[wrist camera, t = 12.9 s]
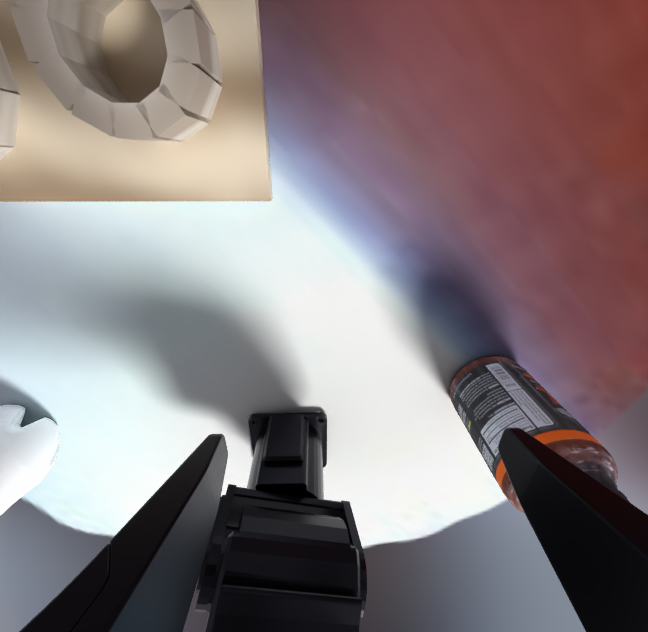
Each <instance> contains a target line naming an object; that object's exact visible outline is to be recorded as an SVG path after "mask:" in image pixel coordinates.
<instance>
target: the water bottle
mask: <svg viewBox="0 0 648 632" xmlns="http://www.w3.org/2000/svg"><path fill="white" fill-rule="evenodd" d="M24 414H25V408H24V407H22V406H20V405H2V406H0V515H2V514H3V513H4V512H5V511H6V510H7V509H8V508H9V507H10V506H11V505H12V504H13V503H15V502H16V501H17V500H18V499H20V498H21V497H22V496H23V495H24V494H26V493H27V492H28V491H29V490H31V489H32V488H33V487H35V486H36V485H38V484H39V483H40V482H41V480H42V479H43V478H44V477H45V475H46V474H47V473H48V471H49V470H50V469H51V467H52V466H53V464H54V462H55V459H56V456H57V452H58V448H59V444H58V441H59V435H60V433H59V428H58V426H57V425H56V424H55V423H54V422H53V421H52V420H51V419H48V418H46V417H45V418H42V419H40V420H38V421H35V422H33V423H31V424H28V425H26V426H24V427H21V426H20V425H21V422H22V420H23V417H24Z"/></svg>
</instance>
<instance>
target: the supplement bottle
mask: <svg viewBox="0 0 648 632" xmlns="http://www.w3.org/2000/svg"><path fill="white" fill-rule="evenodd" d="M450 398H451V401H452V403H453V405H454V407H455V409H456V411H457V413H458V415H459V416H460V418H461V420H462V422H463V423H464V425H465V427H466V428H467V430H468V432H469V434H470V435H471V437H472V439H473V441H474V443H475V444H476V446H477V448H478V450H479V451H480V453H481V455H482V456H483V458H484V460H485V462H486V464H487V465H488V467H489V469H490V471H491V472H492V474H493V476H494V478H495V479H496V481H497V482H498V484H499V486H500V488H501V489H502V491H503V493H504V494H505V496H506V497H507V498H508V500H509V501H510V502H511V503H512V505H513V506H515V507H516V508H517V509H518V510H520V511H522V512H524V510H523V508H522V506H521V504H520V502H519V500H518V498H517V496H516V493H515V491H514V488H513V486H512V483H511V481H510V478H509V476H508V474H507V471H506V469H505V466H504V464H503V461H502V459H501V456H500V454H499V450H498V444H499V441H500V439H501V436H502V434H503V431H504V429H506V428H513V427H517V428H521V429H522V430H524V431H525V432H527V433H528V434H530V435H531V436H533V437H534V438H536V439H537V440H539V441H540V442H541V443H543V444H544V445H546V446H547V447H549V448H550V449H552V450H553V451H555V452H556V453H558V454H559V455H560V456H562V457H563V458H565V459H566V460H568V461H569V462H571V463H572V464H574V465H575V466H577V467H578V468H580V469H581V470H582V471H584V472H585V473H587V474H588V475H590V476H591V477H593V478H594V479H596V480H597V481H599V482H600V483H601V484H603V485H604V486H606V487H607V488H609V489H610V490H612V491H613V492H615V493H616V494H618V495H619V496H621V497H622V498H623V499H625V500H626V501H628V500H627V497H626V496H625V495H624V494H623V493H621V492H620V491H618V489H617V485H616V483H617V478H618V476H617V473H618V471H617V466H616V464H615V461H614V459H613V458H612V456H611V455H610V453H609V452H608V451H607V450H606V449H605V448H604V447H603V446H602V445H601V444H600V443H599V442H598V441H597V440H596V439H595V438H594V437H592V436H591V435H590V433H589V432H588V431H587V430H586V429H585V428H584V427H583V426H582V425H581V424H580V423H579V422H578V421H576V420H575V419H574V418H573V416H572V415H571V414H569V413H568V412H567V411H566V410H565V409H564V408H563V407H562V406H561V405H560V404H559V403H558V402H557V401H556V400H555V399H554V398H553V397H552V396H551V395H550V394H549V393H548V392H547V391H546V390H545V389H544V388H543V387H542V386H541V385H540V384H539V383H538V382H537V381H536V380H535V379H534V378H533V377H532V376H531V375H530V374H529V373H527V371H526V370H525V369H524V368H522V367H521V366H520V365H519V364H517V363H516V362H515V361H513V360H511V359H508V358H505V357H502V356H490V357H484V358H480V359H476V360H475V361H472V362H470V363H469V364H467V365H466V366H464V367H463V368H462V369H461V370H460V371H459V372H458V373H457V374H456V375H455V376H454V378H453V380H452V383H451V386H450ZM628 502H629V501H628ZM629 503H630V502H629ZM524 513H525V512H524Z"/></svg>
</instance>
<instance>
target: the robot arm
mask: <svg viewBox="0 0 648 632" xmlns="http://www.w3.org/2000/svg"><path fill="white" fill-rule="evenodd" d="M255 420H257V421H255ZM249 428H250V435H251V441H252V447H253V453H254V456H253V461H252V466H251V471H250V476H249V481H248V485H247V488H241V487H236V485H231V484H229V485H228V488H227V492H226V495H222V497H220V496H221V491H222V485H223V480H224V474H225V469H226V464H227V458H228V451H227V446H226V442H225V437H224V435H223V434H211V435H209V436H208V437H207V438H206V439H205V440H204V441H203V442H202V443H201V444H200V445H199V446H198V447H197V449H196V450H195V451H194V452H193V453H192V454H191V455H190V456H189V457H188V458H187V459H186V460H185V461H184V462H183V464H182V465H181V466H180V467H179V468H178V469H177V470H176V471H175V472H174V473H173V474H172V475H171V476H170V477H169V479H168V480H167V481H166V482H165V483H164V484H163V485H162V486H161V487H160V488H159V489H158V490H157V491H156V492H155V494H154V495H153V496H152V497H151V498H150V499H149V500H148V501H147V502H146V503H145V504H144V505H143V506H142V507H141V509H140V510H139V511H138V512H137V513H136V514H135V515H134V516H133V517H132V518H131V519H130V520H129V521H128V523H127V524H126V525H125V526H124V527H123V528H122V529H121V530H120V531H119V532H118V533H117V534H116V535H115V536H114V538H113V539H112V540H111V541H110V544H107V545H106V546H105V547H104V548H103V549H102V550H101V551H100V552H99V554H97V556H96V557H95V558H94V559H93V560H92V561H91V562H90V563H89V564H88V565H87V566H86V567H85V568H84V569H83V570H82V571H81V572H80V573H79V575H77V576H76V577H75V578H74V580H73V581H72V582H71V583H70V584H68V585H67V586H66V588H64V589H63V590H62V591H61V592H60V593H59V594H58V595H57V596H56V597H55V598H54V599H53V600H52V601H51V602H50V603H49V604H48V605H47V606H46V607H45V608H44V609H43V610H42V611H41V612H40V613H38V614H37V615H36V616H35V617H34V618H33V619H32V620H31V621H30V622H29V623H28V624H27V625H26V626H25V627H24V628H23V629H22V630H20V631H19V632H183V628H184V625H185V621H186V618H187V614H188V611H189V608H190V604H191V601H192V598H193V594H194V591H195V587H196V584H198V585H197V589H196V593H199V596H198V600H197V605H196V609H195V611H196V612H210V613H209V617H208V621H207V625H206V630H205V632H359V623H360V621H361V619H362V616H363V613H364V609H365V603H366V593H367V574H366V564H365V558H364V553H363V549H362V546H361V542H360V539H359V535H358V531H357V528H356V524H355V520H354V517H353V513H352V509H351V506H350V502H348V501H341V502H338V501H331V500H324V494H323V467H325V466H326V464H327V416H326V414H324V413H283V414H252V415H251V416H250V418H249ZM498 450H499V454H500V456H501V459H502V461H503V464H504V466H505V469H506V471H507V474H508V476H509V478H510V481H511V483H512V486H513V488H514V491H515V493H516V496H517V498H518V500H519V502H520V504H521V506H522V508H523V510H524V512H525V514H526V516H527V518H528V520H529V522H530V524H531V526H532V528H533V530H534V532H535V534H536V536H537V538H538V540H539V541H540V543H541V545H542V547H543V549H544V551H545V553H546V555H547V557H548V559H549V561H550V563H551V565H552V567H553V568H554V570H555V572H556V574H557V576H558V578H559V580H560V582H561V584H562V586H563V588H564V590H565V592H566V594H567V596H568V598H569V600H570V601H571V603H572V605H573V607H574V609H575V611H576V613H577V615H578V617H579V619H580V621H581V622H582V625H583V627H584V629H585V631H586V632H648V515H647V514H645V513H644V512H642V511H641V510H639V509H638V508H637V507H635V506H634V505H632V504H631V503H629V502H628V501H626V500H625V499H623V498H622V497H621V496H619V495H618V494H616V493H615V492H613V491H612V490H610V489H609V488H607V487H606V486H604V485H603V484H601V483H600V482H599V481H597V480H596V479H594V478H593V477H591V476H590V475H588V474H587V473H585V472H584V471H582V470H581V469H580V468H578V467H577V466H575V465H574V464H572V463H571V462H569V461H568V460H566V459H565V458H563V457H562V456H560V455H559V454H558V453H556V452H555V451H553V450H552V449H550V448H549V447H547V446H546V445H544V444H543V443H541V442H540V441H539V440H537V439H536V438H534V437H533V436H531V435H530V434H528V433H527V432H525V431H524V430H522V429H521V428H517V427H513V428H506V429H504V431H503V434H502V436H501V439H500V441H499V444H498Z"/></svg>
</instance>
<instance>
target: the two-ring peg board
mask: <svg viewBox="0 0 648 632" xmlns="http://www.w3.org/2000/svg"><path fill="white" fill-rule="evenodd" d="M272 199H273V198H272V184H271V170H270V157H269V143H268V129H267V115H266V102H265V88H264V74H263V61H262V47H261V33H260V19H259V6H258V0H0V201H271V200H272Z"/></svg>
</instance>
